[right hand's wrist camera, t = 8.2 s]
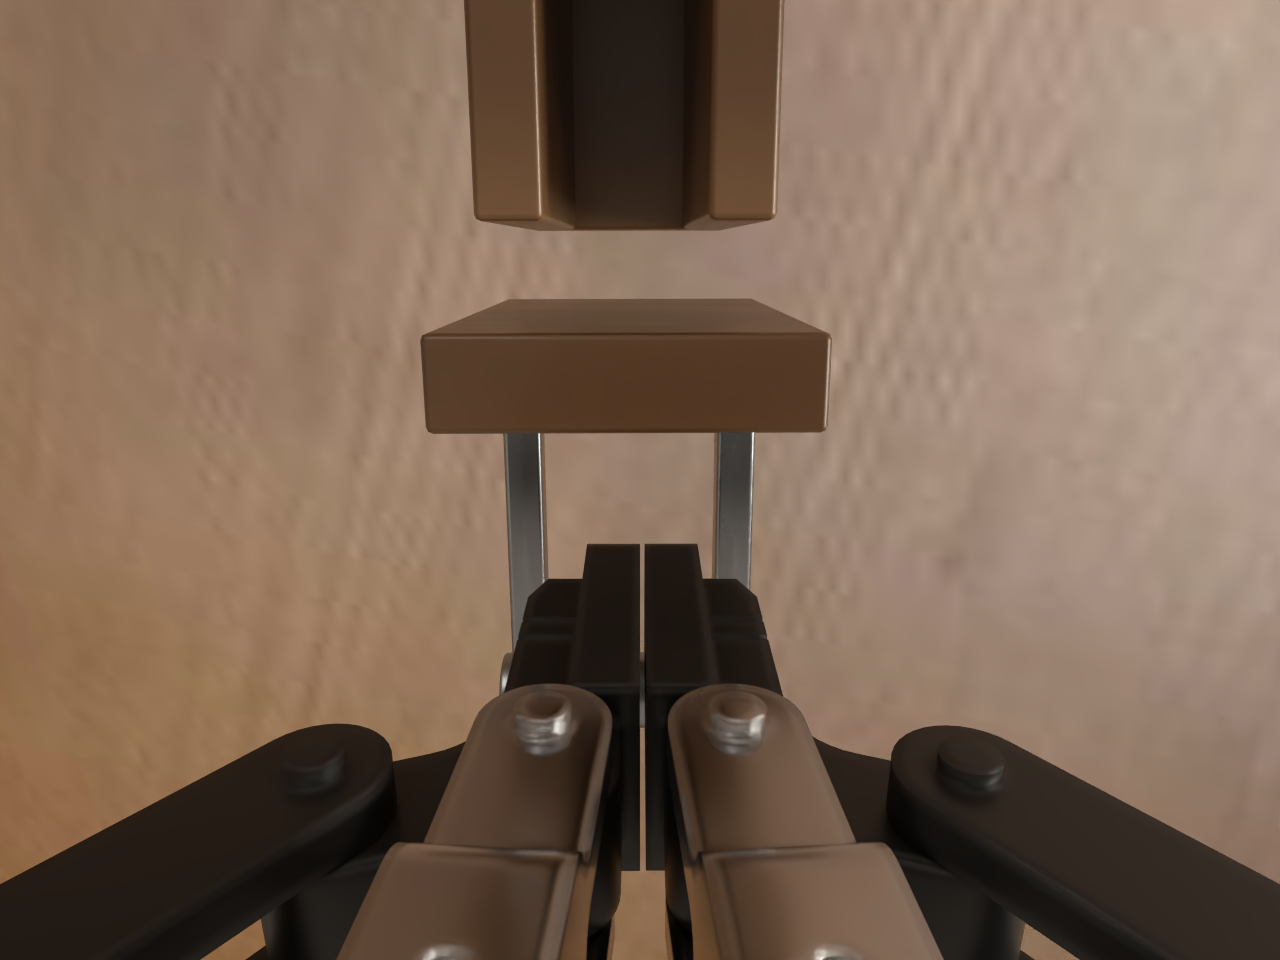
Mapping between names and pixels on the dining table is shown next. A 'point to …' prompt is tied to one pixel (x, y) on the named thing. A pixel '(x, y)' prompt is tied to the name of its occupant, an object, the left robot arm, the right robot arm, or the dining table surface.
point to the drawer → (624, 201)
